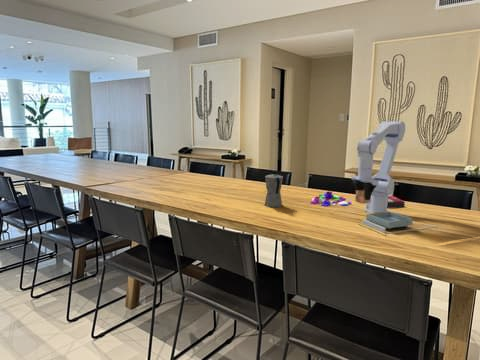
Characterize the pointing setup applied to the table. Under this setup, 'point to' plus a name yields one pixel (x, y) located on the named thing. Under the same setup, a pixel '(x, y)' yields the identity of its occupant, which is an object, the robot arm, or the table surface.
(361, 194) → the block
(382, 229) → the track
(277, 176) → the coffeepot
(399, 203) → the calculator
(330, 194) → the colorful gemstone pile
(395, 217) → the light blue storage bin
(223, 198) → the table surface
